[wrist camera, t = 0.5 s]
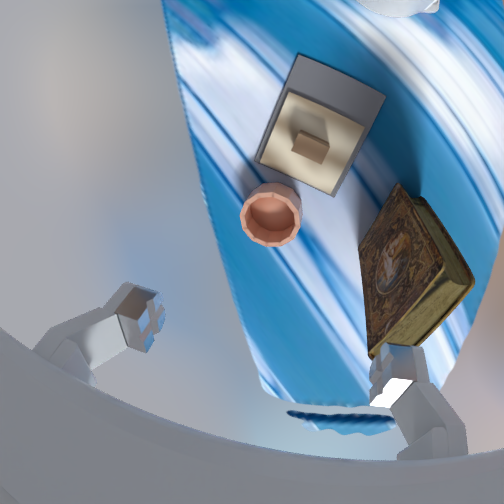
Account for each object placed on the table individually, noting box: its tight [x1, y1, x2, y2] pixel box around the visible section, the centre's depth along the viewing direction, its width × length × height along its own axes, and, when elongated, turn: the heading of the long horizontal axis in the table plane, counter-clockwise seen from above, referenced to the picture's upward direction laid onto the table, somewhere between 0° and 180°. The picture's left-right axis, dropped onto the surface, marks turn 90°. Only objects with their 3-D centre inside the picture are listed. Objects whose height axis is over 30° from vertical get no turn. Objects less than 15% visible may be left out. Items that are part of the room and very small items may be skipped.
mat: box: [255, 55, 386, 197], centre depth 43 cm, size 20×15×1 cm
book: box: [358, 183, 475, 361], centre depth 39 cm, size 16×6×25 cm, turn 162°
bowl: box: [240, 182, 303, 247], centre depth 51 cm, size 10×10×5 cm
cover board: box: [260, 92, 365, 194], centre depth 43 cm, size 13×13×5 cm
